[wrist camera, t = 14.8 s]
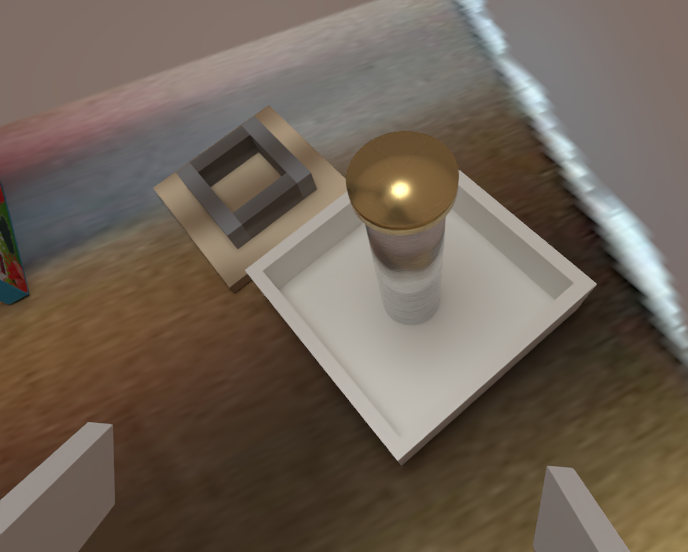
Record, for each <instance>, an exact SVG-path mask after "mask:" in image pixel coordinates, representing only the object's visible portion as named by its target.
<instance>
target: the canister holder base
mask: <svg viewBox="0 0 688 552" xmlns="http://www.w3.org/2000/svg"><path fill="white" fill-rule="evenodd" d="M154 190H155V191H156V192H157V194H158V195H159V196H160V198H161V199H162V200H163V201H164V203H165V204H166V205H167V207H168V208H169V209H170V211H171V212H172V213H173V214H174V216H175V217H176V218H177V220H178V221H179V222H180V224H181V225H182V226H183V228H184V229H185V230H186V231H187V233H188V234H189V235H190V237H191V238H192V239H193V241H194V242H195V243H196V244H197V246H198V247H199V248H200V250H201V251H202V252H203V254H204V255H205V256H206V258H207V259H208V260H209V261H210V263H211V264H212V265H213V267H214V268H215V269H216V271H217V272H218V273H219V274H220V276H221V277H222V278H223V280H224V281H225V282H226V284H227V285H228V286H229V288H230V289H231V290H232V291H233V292H234V293H236V292H237V291H238V290H239V289H241V288H242V287H243V286H245V285H246V284H247V283H248V282H250V281H251V280H252V279H251V277H250V276H249V275H248V274H247V272H246V271H245V269H247V268H248V267H249V266H251V265H252V264H253V263H255V262H256V261H257V260H258V259H260V258H261V257H262V256H264V255H265V254H266V253H268V252H269V251H270V250H271V249H273V248H274V247H275V246H277V245H278V244H279V243H281V242H282V241H283V240H284V239H286V238H287V237H288V236H290V235H291V234H292V233H294V232H295V231H296V230H297V229H299V228H300V227H301V226H303V225H304V224H305V223H307V222H308V221H309V220H310V219H312V218H313V217H314V216H316V215H317V214H318V213H320V212H321V211H322V210H323V209H325V208H326V207H327V206H329V205H330V204H331V203H333V202H334V201H335V200H336V199H338V198H339V197H340V196H342V195H343V194H344V193H346V192H347V188H346V179H345V178H344V177H343V176H342V175H341V174H340V173H339V172H338V171H337V170H336V169H334V168H333V167H332V166H331V165H330V164H329V163H328V162H327V161H326V160H325V159H324V158H323V157H322V156H321V155H320V154H319V153H318V152H317V151H316V150H315V149H314V148H313V147H312V146H311V145H310V144H309V143H308V142H306V141H305V140H304V139H303V138H302V137H301V136H300V135H299V134H298V133H297V132H296V131H295V130H294V129H293V128H292V127H291V126H290V125H289V124H288V123H287V122H286V121H285V120H284V119H283V118H282V117H281V116H280V115H278V114H277V113H276V112H275V111H274V110H273V109H272V108H271V107H270V106H269V105H268V106H267V107H266V108H264V109H263V110H261V111H260V112H259V113H257V114H256V115H254V116H253V117H252V118H250V119H249V120H247V121H246V122H245V123H243V124H242V125H240V126H239V127H238V128H236V129H235V130H233V131H232V132H231V133H229V134H228V135H226V136H225V137H224V138H222V139H221V140H219V141H218V142H217V143H215V144H214V145H213V146H211V147H210V148H208V149H207V150H206V151H204V152H203V153H201V154H200V155H199V156H197V157H196V158H194V159H193V160H192V161H190V162H189V163H187V164H186V165H185V166H183V167H182V168H180V169H179V170H178V171H176V172H175V173H173V174H172V175H171V176H169V177H168V178H166V179H165V180H164V181H162V182H161V183H159V184H158V185H157V186H155V187H154Z"/></svg>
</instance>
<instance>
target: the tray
mask: <svg viewBox="0 0 688 552" xmlns="http://www.w3.org/2000/svg"><path fill="white" fill-rule="evenodd" d="M245 271H246V272H247V274H248V275H249V276H250V277H251V279H252V280H253V281H254V282H255V284H256V285H257V286H258V287H259V289H260V290H261V291H262V292H263V294H264V295H265V296H266V297H267V299H268V300H269V301H270V302H271V304H272V305H273V306H274V307H275V309H276V310H277V311H278V312H279V314H280V315H281V316H282V317H283V319H284V320H285V321H286V322H287V324H288V325H289V326H290V327H291V329H292V330H293V331H294V332H295V334H296V335H297V336H298V337H299V339H300V340H301V341H302V342H303V344H304V345H305V346H306V347H307V349H308V350H309V351H310V352H311V354H312V355H313V356H314V357H315V359H316V360H317V361H318V362H319V363H320V365H321V366H322V367H323V368H324V370H325V371H326V372H327V373H328V375H329V376H330V377H331V378H332V380H333V381H334V382H335V383H336V385H337V386H338V387H339V388H340V390H341V391H342V392H343V393H344V395H345V396H346V397H347V398H348V400H349V401H350V402H351V403H352V405H353V406H354V407H355V408H356V410H357V411H358V412H359V413H360V415H361V416H362V417H363V418H364V420H365V421H366V422H367V423H368V425H369V426H370V427H371V428H372V430H373V431H374V432H375V433H376V435H377V436H378V437H379V438H380V440H381V441H382V442H383V443H384V445H385V446H386V447H387V448H388V450H389V451H390V452H391V453H392V455H393V456H394V457H395V458H396V460H397V461H398V462H399V463H400V465H401V466H402V465H403V464H404V463H406V462H407V461H408V460H409V459H410V458H411V457H412V456H413V455H415V454H416V453H417V452H418V451H419V450H420V449H421V448H422V447H424V446H425V445H426V444H427V443H428V442H429V441H430V440H431V439H432V438H434V437H435V436H436V435H437V434H438V433H439V432H440V431H441V430H443V429H444V428H445V427H446V426H447V425H448V424H449V423H450V422H452V421H453V420H454V419H455V418H456V417H457V416H458V415H459V414H460V413H462V412H463V411H464V410H465V409H466V408H467V407H468V406H469V405H471V404H472V403H473V402H474V401H475V400H476V399H477V398H478V397H480V396H481V395H482V394H483V393H484V392H485V391H486V390H487V389H489V388H490V387H491V386H492V385H493V384H494V383H495V382H496V381H497V380H499V379H500V378H501V377H502V376H503V375H504V374H505V373H506V372H508V371H509V370H510V369H511V368H512V367H513V366H514V365H515V364H517V363H518V362H519V361H520V360H521V359H522V358H523V357H524V356H526V355H527V354H528V353H529V352H530V351H531V350H532V349H533V348H534V347H536V346H537V345H538V344H539V343H540V342H541V341H542V340H543V339H545V338H546V337H547V336H548V335H549V334H550V333H551V332H552V331H554V330H555V329H556V328H557V327H558V326H559V325H560V324H561V323H562V322H564V321H565V320H566V319H567V318H568V317H569V316H570V315H571V314H573V313H574V312H575V311H576V310H577V309H578V308H579V306H580V305H581V304H582V302H583V301H584V300H585V299H586V297H587V296H588V295H589V293H590V292H591V291H592V290H593V288H594V287H595V286H596V283H595V282H594V281H593V280H591V279H590V278H589V277H588V276H586V275H585V274H584V273H583V272H582V271H580V270H579V269H578V268H577V267H576V266H574V265H573V264H572V263H571V262H570V261H568V260H567V259H566V258H565V257H564V256H562V255H561V254H560V253H559V252H558V251H556V250H555V249H554V248H553V247H551V246H550V245H549V244H548V243H547V242H545V241H544V240H543V239H542V238H541V237H539V236H538V235H537V234H536V233H535V232H533V231H532V230H531V229H530V228H529V227H527V226H526V225H525V224H524V223H523V222H521V221H520V220H519V219H518V218H516V217H515V216H514V215H513V214H512V213H510V212H509V211H508V210H507V209H506V208H504V207H503V206H502V205H501V204H500V203H498V202H497V201H496V200H495V199H494V198H492V197H491V196H490V195H489V194H488V193H486V192H485V191H484V190H483V189H481V188H480V187H479V186H478V185H477V184H475V183H474V182H473V181H472V180H471V179H469V178H468V177H467V176H466V175H465V174H463V173H462V172H461V171H460V170H459V182H458V192H457V197H456V201H455V203H454V205H453V207H452V209H451V210H450V212H449V213H448V214H447V216H446V221H445V236H444V251H443V266H442V282H441V297H440V305H439V308H438V310H437V312H436V313H435V314H434V316H433V317H432V318H431V319H429V320H428V321H426V322H424V323H422V324H418V325H404V324H401V323H398V322H396V321H395V320H393V319H392V318H391V317H390V316H389V315H388V314H387V312H386V311H385V309H384V306H383V302H382V298H381V293H380V289H379V284H378V280H377V275H376V271H375V267H374V262H373V258H372V253H371V249H370V244H369V240H368V235H367V231H366V226H365V224H364V223H363V222H362V221H361V220H360V219H359V218H358V217H357V215H356V214H355V212H354V211H353V209H352V206H351V204H350V200H349V196H348V192H346V193H344V194H343V195H342V196H340V197H339V198H338V199H336V200H335V201H334V202H333V203H331V204H330V205H329V206H327V207H326V208H325V209H323V210H322V211H321V212H320V213H318V214H317V215H316V216H314V217H313V218H312V219H310V220H309V221H308V222H307V223H305V224H304V225H303V226H301V227H300V228H299V229H297V230H296V231H295V232H294V233H292V234H291V235H290V236H288V237H287V238H286V239H284V240H283V241H282V242H281V243H279V244H278V245H277V246H275V247H274V248H273V249H271V250H270V251H269V252H268V253H266V254H265V255H264V256H262V257H261V258H260V259H258V260H257V261H256V262H255V263H253V264H252V265H251V266H249V267H248V268H247V269H245Z"/></svg>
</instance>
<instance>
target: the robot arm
mask: <svg viewBox="0 0 688 552" xmlns="http://www.w3.org/2000/svg"><path fill="white" fill-rule="evenodd" d="M114 504H115V493H114V454H113V425H112V424H102V423H91V422H88V423H87V424H86V425H85V426H83V427H82V428H81V429H80V430H79V431H78V432H77V433H76V434H74V435H73V436H72V437H71V438H70V439H69V440H68V441H67V442H65V443H64V444H63V445H62V446H61V447H60V448H59V449H58V450H56V451H55V452H54V453H53V454H52V455H51V456H50V457H49V458H47V459H46V460H45V461H44V462H43V463H42V464H41V465H40V466H38V467H37V468H36V469H35V470H34V471H33V472H32V473H30V474H29V475H28V476H27V477H26V478H25V479H24V480H23V481H21V482H20V483H19V484H18V485H17V486H16V487H15V488H14V489H12V490H11V491H10V492H9V493H8V494H7V495H6V496H5V497H3V498H2V499H1V500H0V552H78V551H79V550H80V549H81V547H82V546H83V545H84V543H85V542H86V541H87V539H88V538H89V537H90V536H91V534H92V533H93V532H94V530H95V529H96V528H97V526H98V525H99V524H100V523H101V521H102V520H103V519H104V517H105V516H106V515H107V513H108V512H109V511H110V510H111V508H112V507H113V506H114ZM533 547H534V550H535V552H630V551H629V549H628V548H627V546H626V545H625V543H624V542H623V540H622V539H621V538H620V536H619V535H618V533H617V532H616V530H615V529H614V527H613V526H612V524H611V523H610V521H609V520H608V518H607V517H606V516H605V514H604V513H603V511H602V510H601V508H600V507H599V505H598V504H597V502H596V501H595V499H594V498H593V496H592V495H591V494H590V492H589V491H588V489H587V488H586V486H585V485H584V483H583V482H582V480H581V479H580V477H579V476H578V474H577V473H576V472H575V470H574V469H573V468H566V467H555V466H547V469H546V474H545V480H544V486H543V492H542V497H541V503H540V509H539V514H538V520H537V526H536V532H535V537H534V543H533Z"/></svg>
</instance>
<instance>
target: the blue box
mask: <svg viewBox="0 0 688 552" xmlns="http://www.w3.org/2000/svg"><path fill="white" fill-rule="evenodd" d="M27 295H29V290H28V286H27V282H26V278H25V274H24V270H23V266H22V262H21V258H20V254H19V250H18V246H17V242H16V238H15V234H14V230H13V226H12V222H11V218H10V214H9V210H8V207H7V203H6V199H5V195H4V191H3V187H2V184H1V183H0V301H1V302H3V303H6V304H8V305H10V304H12V303H14V302H16V301H17V300H19V299H21V298H23V297H25V296H27Z"/></svg>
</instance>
